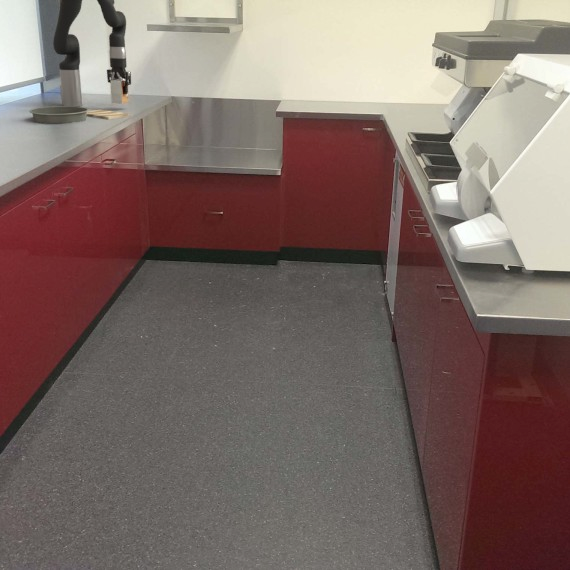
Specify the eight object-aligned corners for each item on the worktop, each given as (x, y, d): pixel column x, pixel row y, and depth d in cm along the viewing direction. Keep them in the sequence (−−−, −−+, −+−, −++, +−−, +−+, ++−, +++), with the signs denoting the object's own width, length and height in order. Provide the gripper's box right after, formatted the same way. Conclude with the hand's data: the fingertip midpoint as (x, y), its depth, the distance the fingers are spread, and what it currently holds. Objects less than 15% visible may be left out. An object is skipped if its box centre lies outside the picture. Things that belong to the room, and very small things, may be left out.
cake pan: (29, 117, 301) (28, 106, 300) (86, 115, 310) (85, 105, 308) (31, 125, 280) (30, 114, 279) (92, 123, 288) (91, 112, 287)
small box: (122, 104, 321) (121, 81, 317) (111, 103, 322) (109, 80, 318) (129, 102, 328) (128, 79, 324) (118, 101, 329) (117, 78, 325)
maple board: (78, 114, 309) (78, 112, 308) (100, 111, 319) (100, 109, 318) (108, 119, 298) (108, 117, 298) (130, 116, 308) (130, 113, 308)
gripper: (101, 56, 318) (103, 92, 324) (122, 58, 311) (124, 95, 317) (113, 55, 324) (115, 91, 330) (134, 57, 316) (136, 94, 323)
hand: (119, 93), depth 324 cm, fingers closed on small box, 7 cm apart
